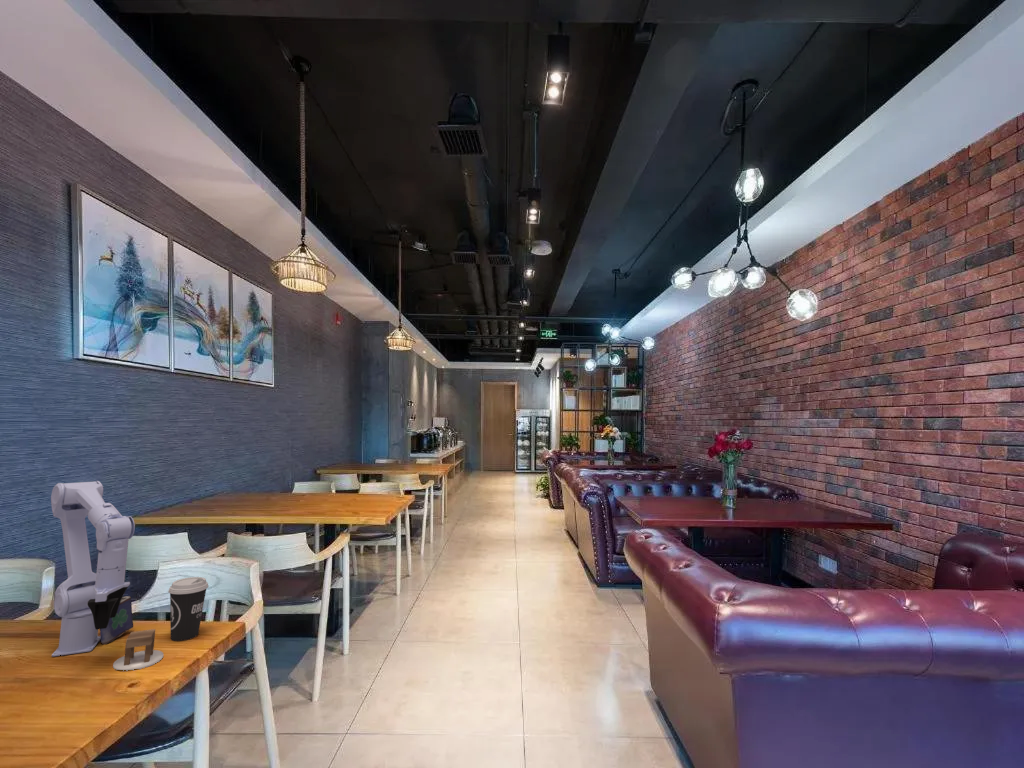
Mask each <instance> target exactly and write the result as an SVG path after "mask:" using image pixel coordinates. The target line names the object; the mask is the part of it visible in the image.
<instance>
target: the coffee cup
mask: <svg viewBox="0 0 1024 768" xmlns="http://www.w3.org/2000/svg"><path fill="white" fill-rule="evenodd" d="M208 588H209V583H208V581H207V578H206V577H203V576H202V577H201V576H200V577H199V576H192V577H184V578H180V579H177V580H174V581H173V582H172V584H171V586H170V587H169V588H168V590H167V592H168V593H169V596H170V597H169V598H170V599H169V600H170V601H169V602H170V605H169V606H170V607H169V608H170V617H169V618H170V620H169V622H170V640H171V641H173V642H183V641H188V640H191V639H194V638H196V637H197V636H199V632H200V627H201V626H200V625H201V621H202V615H203V608H204V603H205V599H206V593H207V589H208Z"/></svg>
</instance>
